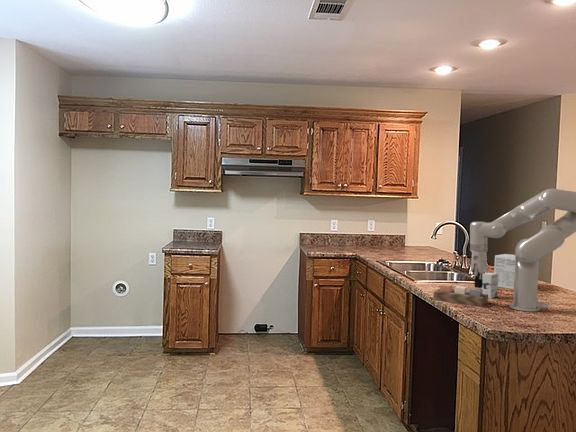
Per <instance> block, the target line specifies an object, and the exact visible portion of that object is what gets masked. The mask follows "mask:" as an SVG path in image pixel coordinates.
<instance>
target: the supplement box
mask: <svg viewBox="0 0 576 432" xmlns="http://www.w3.org/2000/svg"><path fill="white" fill-rule="evenodd" d="M493 273H498V288H503V289H509V290H514V276H515V254H510V253H509V254H508V253H503V254H497V255H494V269H493Z"/></svg>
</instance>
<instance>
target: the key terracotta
mask: <svg viewBox="0 0 576 432" xmlns="http://www.w3.org/2000/svg"><path fill="white" fill-rule="evenodd" d="M453 288H454V287H453V284H447V283H442V284H440V285H439V289H440V291H443V292H452V289H453Z"/></svg>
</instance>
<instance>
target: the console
mask: <svg viewBox="0 0 576 432" xmlns="http://www.w3.org/2000/svg"><path fill="white" fill-rule="evenodd" d="M454 291H455V288H454V289H452V292H443V291H440V288H438V289H436V290H434V291H433V298H432V299H433V301H440V302H445V303H451V304H458V305H465V306H470V305H471V306H472V307H477V306H478V307H477V308H482V307H484V306H485V305H487V304H488V303H489V298H488V294H482V296H481V297H478V296H471V295H470V291H468V290H467V294H465V295H464V294H457V293H454ZM483 305H484V306H483Z"/></svg>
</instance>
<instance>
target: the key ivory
mask: <svg viewBox="0 0 576 432" xmlns="http://www.w3.org/2000/svg"><path fill="white" fill-rule="evenodd" d="M454 290H455V291H454V293H457V294H464V295H465V294H467V291H468V287H467V286H461V285H456V286H454Z"/></svg>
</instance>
